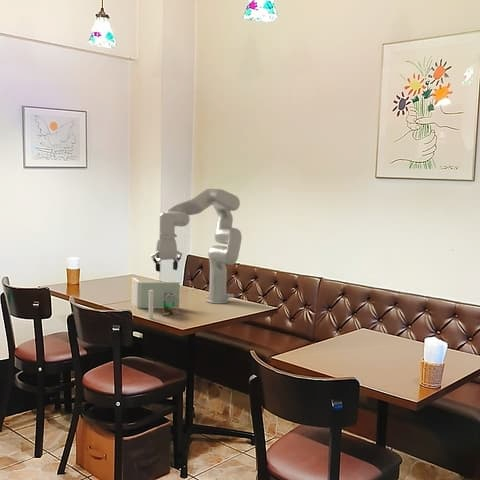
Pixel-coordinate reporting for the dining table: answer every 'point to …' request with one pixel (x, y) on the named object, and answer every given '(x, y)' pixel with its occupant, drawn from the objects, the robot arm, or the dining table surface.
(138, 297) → the door frame
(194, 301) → the dining table surface
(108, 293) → the dining table surface
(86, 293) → the dining table surface
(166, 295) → the food container
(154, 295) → the door
